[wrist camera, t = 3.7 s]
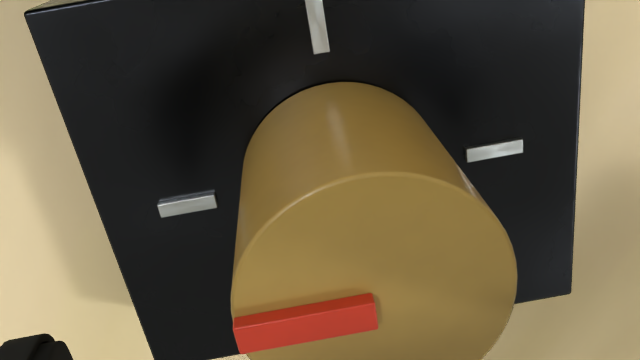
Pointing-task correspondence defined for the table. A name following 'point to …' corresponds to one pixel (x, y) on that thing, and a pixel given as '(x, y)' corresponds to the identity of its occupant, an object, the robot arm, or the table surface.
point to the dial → (363, 237)
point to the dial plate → (274, 88)
